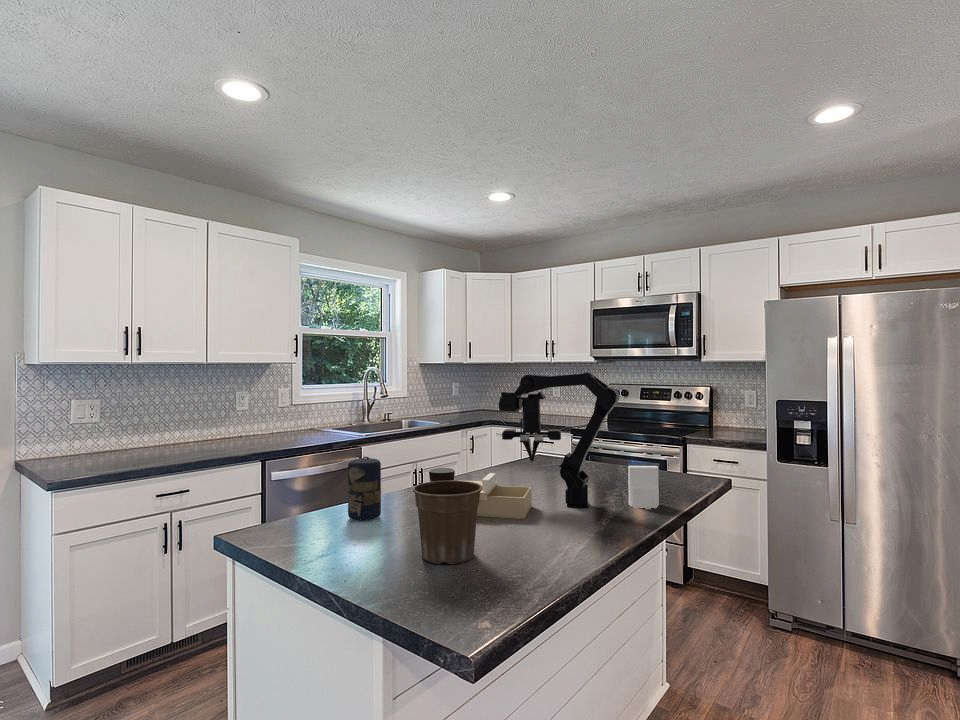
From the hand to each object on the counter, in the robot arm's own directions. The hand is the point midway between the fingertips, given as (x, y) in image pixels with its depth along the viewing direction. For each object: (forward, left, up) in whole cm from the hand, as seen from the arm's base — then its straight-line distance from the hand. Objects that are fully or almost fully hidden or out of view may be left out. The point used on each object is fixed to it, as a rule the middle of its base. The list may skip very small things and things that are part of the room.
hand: (532, 461), depth 176 cm
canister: (+45, +28, -13) cm, 55 cm away
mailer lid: (+18, +13, -8) cm, 24 cm away
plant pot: (+12, +53, -13) cm, 56 cm away
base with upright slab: (-35, -2, -13) cm, 37 cm away
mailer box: (+7, +13, -13) cm, 20 cm away
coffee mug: (+29, +3, -13) cm, 32 cm away
